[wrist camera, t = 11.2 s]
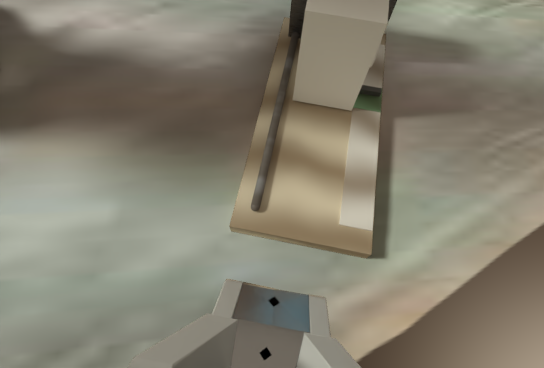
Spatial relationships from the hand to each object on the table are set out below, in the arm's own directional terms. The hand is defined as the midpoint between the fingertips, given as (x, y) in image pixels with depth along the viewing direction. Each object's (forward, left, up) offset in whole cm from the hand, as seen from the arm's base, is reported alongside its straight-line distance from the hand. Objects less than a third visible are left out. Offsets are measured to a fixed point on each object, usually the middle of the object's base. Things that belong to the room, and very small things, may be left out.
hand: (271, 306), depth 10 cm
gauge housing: (-19, +15, -16) cm, 29 cm away
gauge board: (-16, +11, -17) cm, 26 cm away
